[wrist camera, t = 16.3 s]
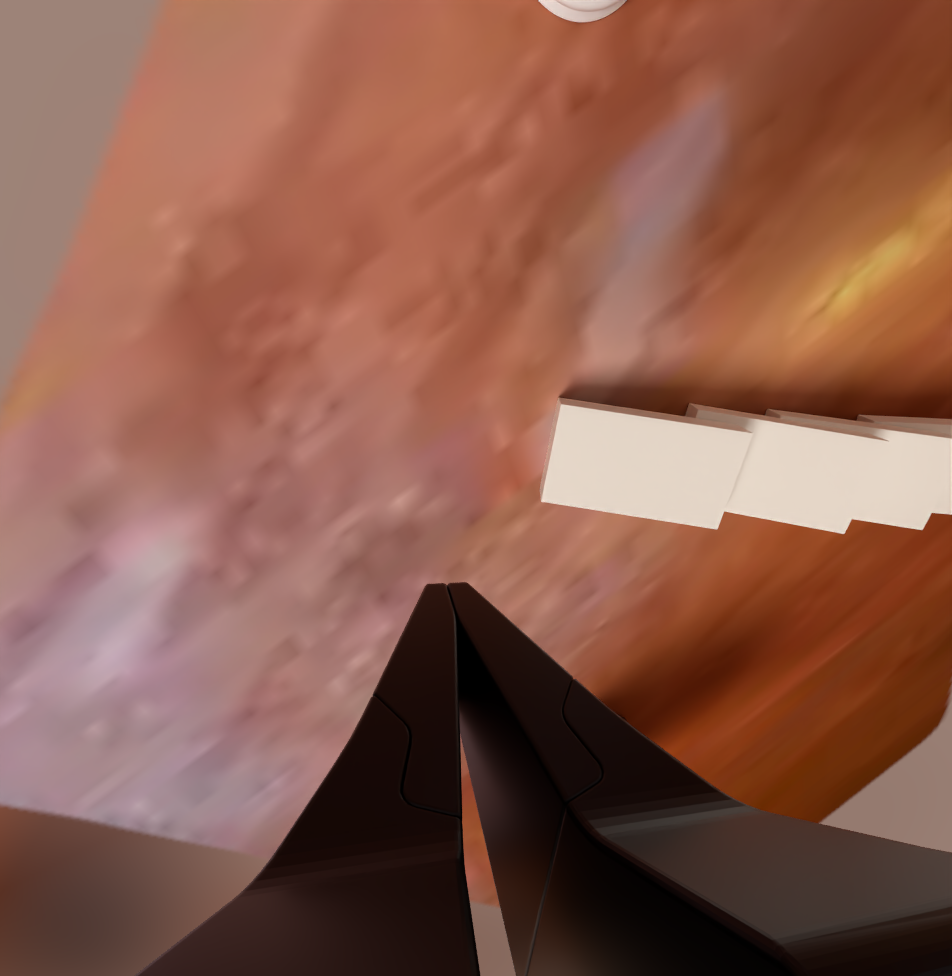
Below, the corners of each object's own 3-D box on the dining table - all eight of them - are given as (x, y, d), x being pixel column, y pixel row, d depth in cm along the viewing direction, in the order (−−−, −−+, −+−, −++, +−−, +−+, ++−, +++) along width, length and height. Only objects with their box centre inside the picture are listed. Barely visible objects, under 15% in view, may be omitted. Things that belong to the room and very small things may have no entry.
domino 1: (539, 488, 22) (704, 514, 22) (541, 501, 21) (717, 529, 21) (558, 397, 21) (736, 424, 20) (561, 404, 19) (753, 433, 19)
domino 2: (661, 489, 24) (825, 519, 23) (668, 501, 22) (844, 534, 21) (689, 403, 22) (867, 432, 21) (698, 409, 20) (890, 441, 20)
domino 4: (833, 494, 26) (1011, 509, 24) (847, 505, 24) (1038, 521, 22) (858, 414, 24) (1050, 423, 22) (874, 421, 22) (1081, 431, 21)
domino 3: (737, 491, 25) (899, 516, 24) (749, 502, 23) (922, 530, 22) (766, 408, 23) (942, 432, 22) (781, 415, 21) (969, 441, 20)
